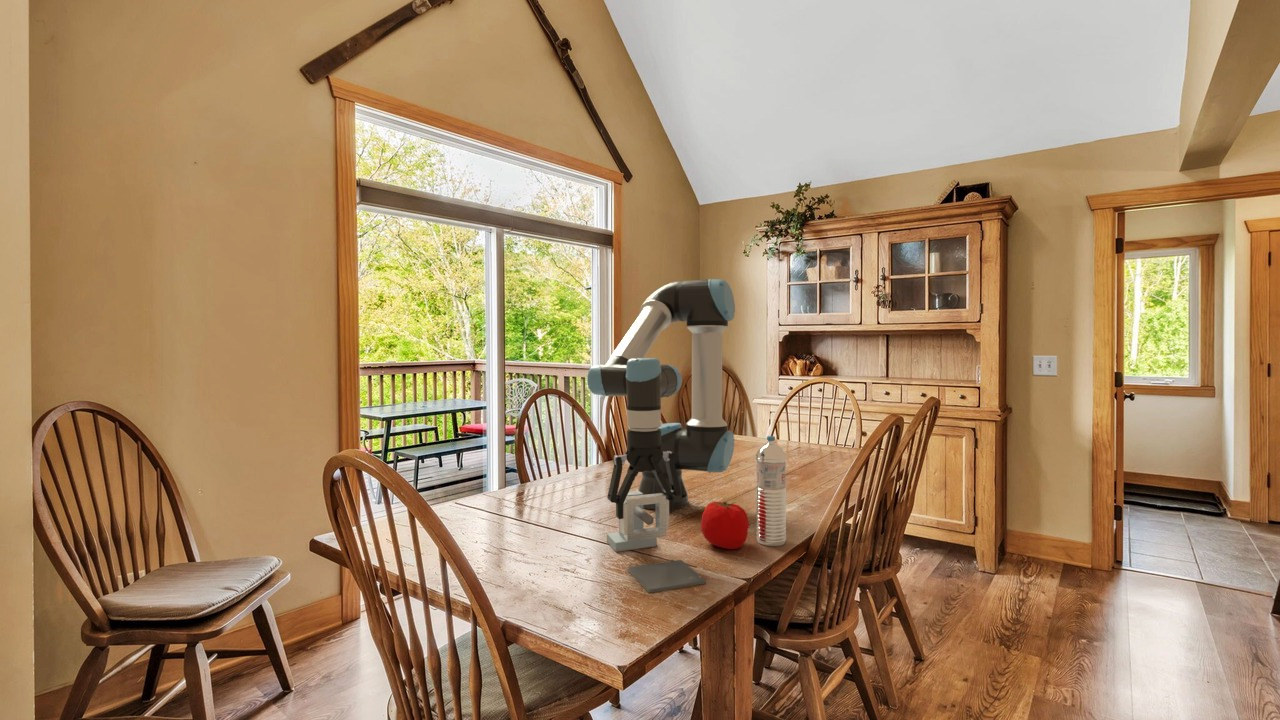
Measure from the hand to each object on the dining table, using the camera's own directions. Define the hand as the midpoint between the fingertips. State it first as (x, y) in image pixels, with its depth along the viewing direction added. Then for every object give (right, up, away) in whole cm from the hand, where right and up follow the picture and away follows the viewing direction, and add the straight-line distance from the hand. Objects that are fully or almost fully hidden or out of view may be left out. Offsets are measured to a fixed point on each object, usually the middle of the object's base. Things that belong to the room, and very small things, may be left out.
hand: (644, 530), depth 132 cm
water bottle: (+30, -6, +9) cm, 32 cm away
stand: (-2, -6, +5) cm, 8 cm away
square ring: (0, -1, 0) cm, 1 cm away
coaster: (+4, -6, -11) cm, 13 cm away
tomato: (+19, -6, +7) cm, 21 cm away
